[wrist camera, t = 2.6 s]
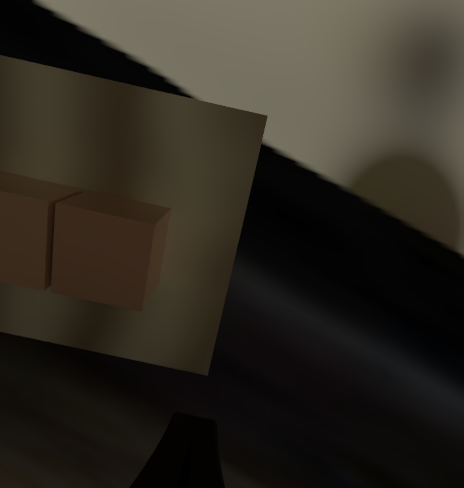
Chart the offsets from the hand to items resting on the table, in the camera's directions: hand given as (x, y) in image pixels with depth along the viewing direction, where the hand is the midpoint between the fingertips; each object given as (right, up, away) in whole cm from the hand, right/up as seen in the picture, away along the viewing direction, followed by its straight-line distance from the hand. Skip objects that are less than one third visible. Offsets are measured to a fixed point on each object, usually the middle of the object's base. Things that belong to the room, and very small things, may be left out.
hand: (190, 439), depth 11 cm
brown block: (-8, +7, +6) cm, 13 cm away
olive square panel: (-5, +8, +8) cm, 13 cm away
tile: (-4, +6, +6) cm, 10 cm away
